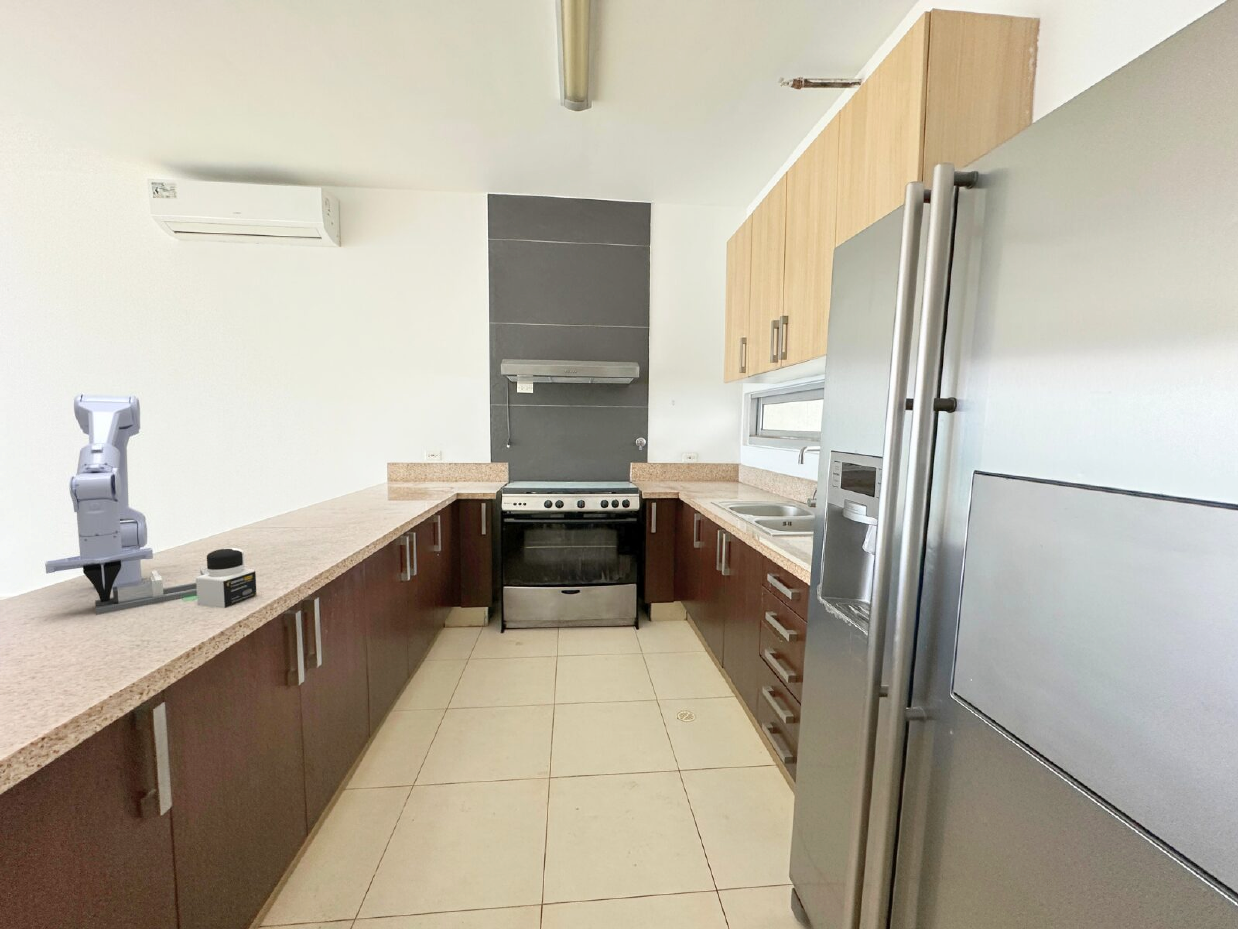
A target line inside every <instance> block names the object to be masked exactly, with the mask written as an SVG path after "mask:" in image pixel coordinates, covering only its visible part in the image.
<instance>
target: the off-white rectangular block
mask: <svg viewBox="0 0 1238 929" xmlns="http://www.w3.org/2000/svg"><path fill="white" fill-rule="evenodd" d="M149 579H150V580H151V582H152V591H153V597H157V596H163V588H164V585H163V584H164V583H163V578H162V575H160V574H159V573H158V571H157V570H152V571H151V576H150V577H149Z"/></svg>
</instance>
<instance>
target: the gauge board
mask: <svg viewBox="0 0 1238 929" xmlns="http://www.w3.org/2000/svg"><path fill="white" fill-rule="evenodd" d="M199 573H200V576H201V575H205V574H208V571H207V568H202V569H201V568H200V572H199ZM176 600H177V601H178V600H182V601H183V602H184V603H185V602H189V601H195V600H197V586H196V582H192V583H191V582H190V583H186V584H181V585H174V586H168V587H163V596H157V597H152V598H146V599H141V600H135V601H130V602H124V603H119V604H114V600H113V596H110V601H106V602H100V599H96V600H94V604H95V606H94V607H95V615H96V616H97V615H98V616H99V615H102V614H103V615H104V614H108V613H114V612H119V611H123V610H124V611H125V610H129V609H133V608H140V607H145V606H151V605H154V604H155V605H156V604H161V603H166V602H171V601H176Z"/></svg>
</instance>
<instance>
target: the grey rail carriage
mask: <svg viewBox="0 0 1238 929" xmlns="http://www.w3.org/2000/svg"><path fill="white" fill-rule="evenodd" d="M112 597H113V600H114V604H119V603H124V602H130V601H135V600H141V599H146V598H152V597H153V591H152V582H151V580H150V578H147V579H142V580H140V581H133V582H127V583H121V584H117V586H116V587H113V590H112ZM114 604H113V605H114Z"/></svg>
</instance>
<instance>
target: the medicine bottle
mask: <svg viewBox="0 0 1238 929" xmlns="http://www.w3.org/2000/svg"><path fill="white" fill-rule="evenodd" d="M244 552H245V551H244V550H243V549H241V548H236V547H230V548H220V549H216V550H214V551H213V550H212V551H211V552H209V553H208V554H207V555H206V566H207V571H208V574H205V575H201V574H200V575H199V576H196V577H195V581H196V582H195V583H196V586H197V599H196V600H197V605H198V606H203V607H205V606H207V607H213V608H214V607H215V608H223V609H224V608H229V607H232V606H234V605H237V604H239V603H242V602H245V601H248V600H250V599H253V598H256V597H257V596H258V594H257V577H256V574H257V573H256V569H250V568H245V555H244Z"/></svg>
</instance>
